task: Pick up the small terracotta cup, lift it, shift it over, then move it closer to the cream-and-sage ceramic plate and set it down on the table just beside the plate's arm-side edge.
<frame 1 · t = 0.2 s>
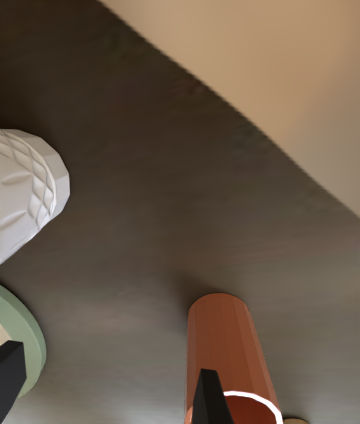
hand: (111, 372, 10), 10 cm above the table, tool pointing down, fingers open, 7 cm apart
white cup: (27, 178, 18), on the table
cup: (218, 318, 21), on the table
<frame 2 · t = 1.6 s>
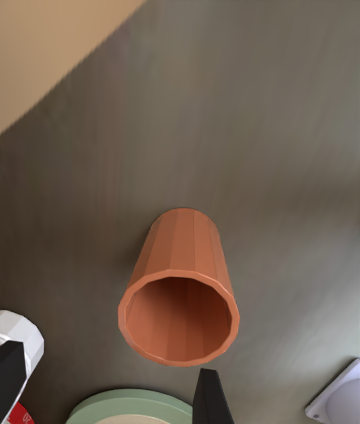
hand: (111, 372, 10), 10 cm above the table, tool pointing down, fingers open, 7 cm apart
white cup: (10, 336, 23), on the table
cup: (183, 241, 19), on the table
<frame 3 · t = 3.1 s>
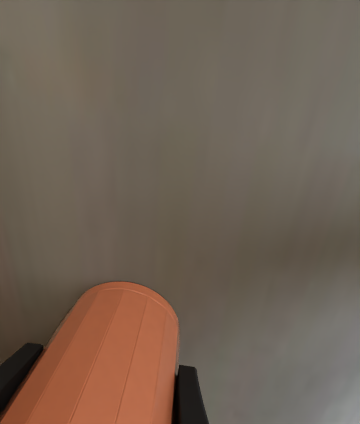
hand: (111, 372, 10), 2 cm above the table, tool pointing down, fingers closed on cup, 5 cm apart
cup: (125, 326, 12), on the table, touching gripper
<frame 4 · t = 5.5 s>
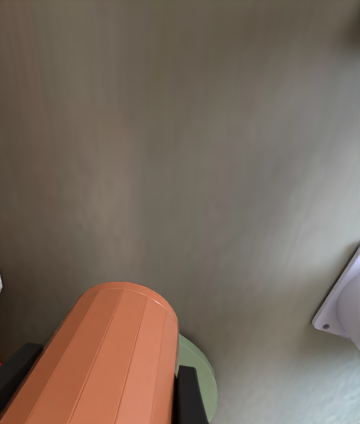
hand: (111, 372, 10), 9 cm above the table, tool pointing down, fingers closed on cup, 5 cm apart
plate: (131, 382, 23), on the table
cup: (125, 326, 12), point 7 cm above the table, touching gripper
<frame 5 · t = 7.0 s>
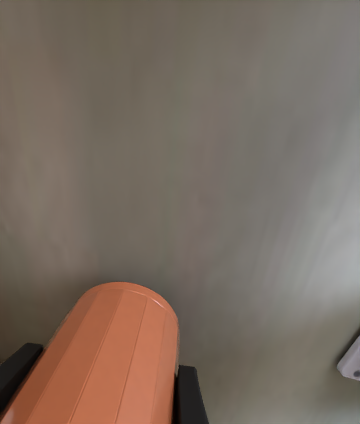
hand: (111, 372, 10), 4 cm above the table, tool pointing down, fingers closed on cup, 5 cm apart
cup: (125, 327, 12), point 1 cm above the table, touching gripper
when the fingers open (2 cm above the table, at t = 8.0 s): cup stays where it is, on the table.
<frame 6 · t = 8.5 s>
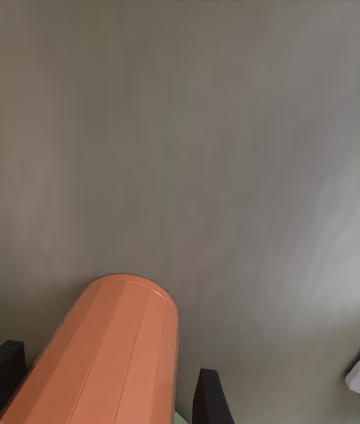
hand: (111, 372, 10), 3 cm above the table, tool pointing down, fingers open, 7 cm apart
cup: (127, 317, 13), on the table
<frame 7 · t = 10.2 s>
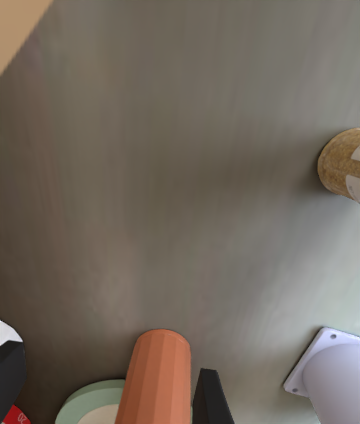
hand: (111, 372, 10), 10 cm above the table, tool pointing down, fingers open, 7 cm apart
sprinkles bottle: (348, 161, 17), on the table
cup: (162, 351, 23), on the table
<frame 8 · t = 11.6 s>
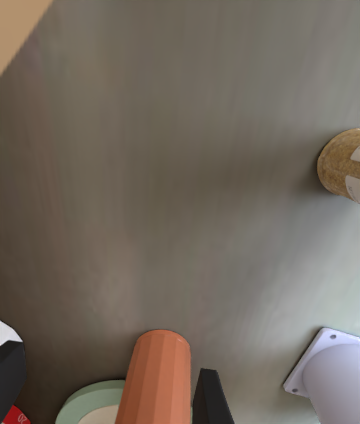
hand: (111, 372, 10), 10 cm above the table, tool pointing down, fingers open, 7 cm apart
sprinkles bottle: (348, 161, 17), on the table
cup: (162, 351, 23), on the table
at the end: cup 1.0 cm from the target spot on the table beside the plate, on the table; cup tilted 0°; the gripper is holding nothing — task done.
